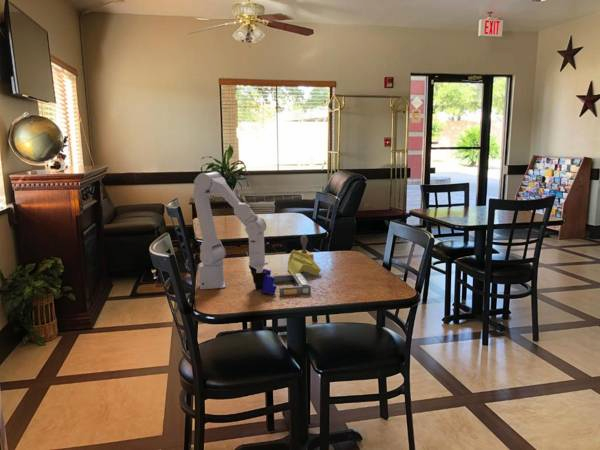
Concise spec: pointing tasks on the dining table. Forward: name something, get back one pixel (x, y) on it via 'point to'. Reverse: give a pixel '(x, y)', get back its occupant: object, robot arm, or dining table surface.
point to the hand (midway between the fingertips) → (257, 286)
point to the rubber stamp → (304, 243)
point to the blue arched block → (268, 283)
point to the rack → (298, 281)
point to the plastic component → (302, 264)
